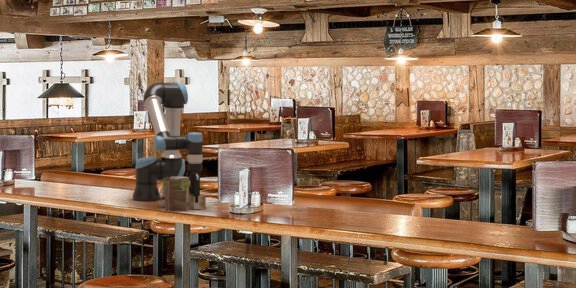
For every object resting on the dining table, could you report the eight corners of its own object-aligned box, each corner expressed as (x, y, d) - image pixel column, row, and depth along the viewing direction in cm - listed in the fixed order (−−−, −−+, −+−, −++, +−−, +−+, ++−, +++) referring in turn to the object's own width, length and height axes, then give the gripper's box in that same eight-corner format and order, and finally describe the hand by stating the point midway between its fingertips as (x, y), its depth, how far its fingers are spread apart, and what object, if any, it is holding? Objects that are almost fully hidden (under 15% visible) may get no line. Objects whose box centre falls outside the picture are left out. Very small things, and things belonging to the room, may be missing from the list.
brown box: (164, 207, 455) (164, 176, 454) (180, 207, 458) (181, 176, 457) (169, 211, 442) (169, 179, 441) (186, 210, 445) (186, 179, 444)
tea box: (180, 207, 458) (180, 178, 457) (161, 206, 460) (161, 178, 459) (189, 204, 473) (189, 176, 472) (171, 203, 475) (171, 175, 474)
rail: (174, 210, 447) (174, 196, 447) (172, 208, 452) (172, 195, 452) (205, 209, 452) (205, 195, 452) (203, 207, 457) (203, 194, 457)
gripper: (184, 161, 459) (184, 206, 461) (191, 164, 442) (191, 210, 443) (198, 161, 462) (198, 205, 463) (206, 164, 444) (206, 210, 445)
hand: (194, 208), depth 453 cm, fingers open, 5 cm apart
